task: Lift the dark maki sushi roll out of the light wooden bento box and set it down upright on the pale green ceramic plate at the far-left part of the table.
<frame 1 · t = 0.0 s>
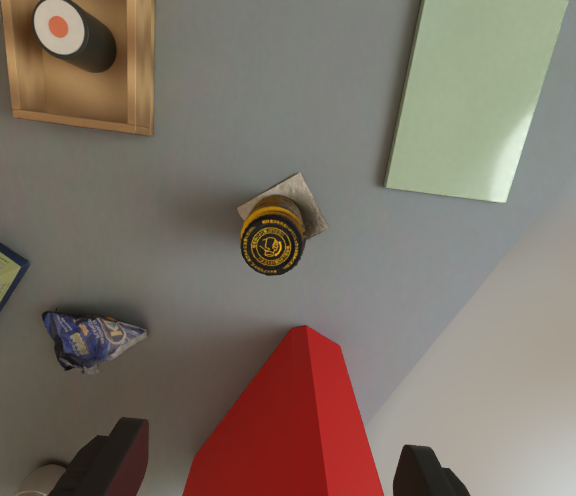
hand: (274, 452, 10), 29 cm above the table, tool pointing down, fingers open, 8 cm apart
snack package: (99, 331, 42), on the table
plastic bottle: (57, 473, 48), on the table
book: (266, 405, 45), on the table
sushi plate: (465, 101, 34), on the table
bento box: (97, 49, 33), on the table
sushi roll: (92, 46, 32), point 1 cm above the table, touching bento box
condiment: (283, 217, 38), on the table
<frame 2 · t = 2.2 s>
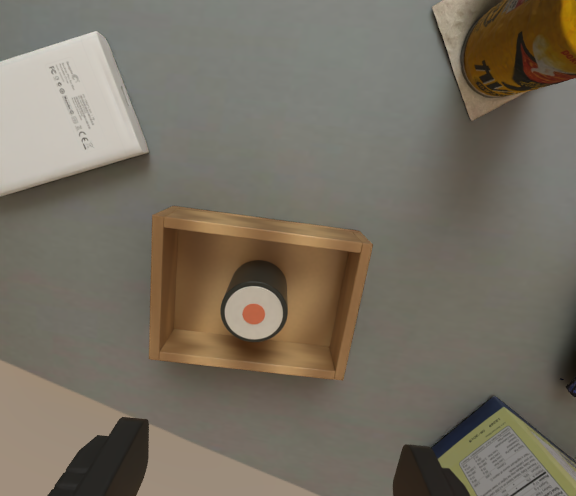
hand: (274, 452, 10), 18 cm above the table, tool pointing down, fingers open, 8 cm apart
hard drive: (55, 121, 24), on the table
bento box: (259, 282, 28), on the table
protein box: (501, 460, 34), on the table
sushi roll: (259, 286, 27), point 1 cm above the table, touching bento box
condiment: (496, 42, 23), on the table
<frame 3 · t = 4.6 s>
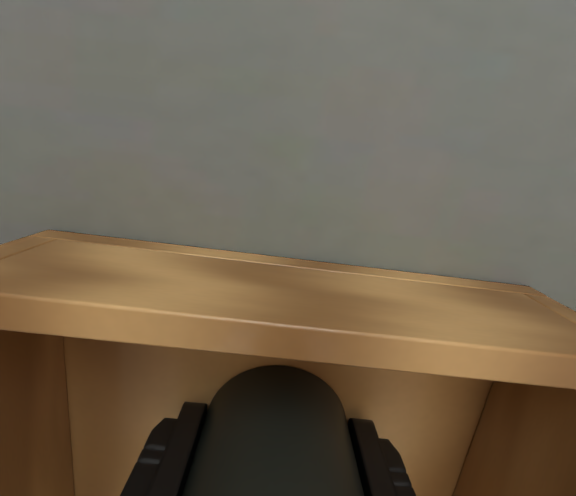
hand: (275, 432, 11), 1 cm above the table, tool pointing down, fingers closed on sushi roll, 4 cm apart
bento box: (275, 406, 12), on the table
sushi roll: (276, 423, 11), point 1 cm above the table, touching bento box, gripper
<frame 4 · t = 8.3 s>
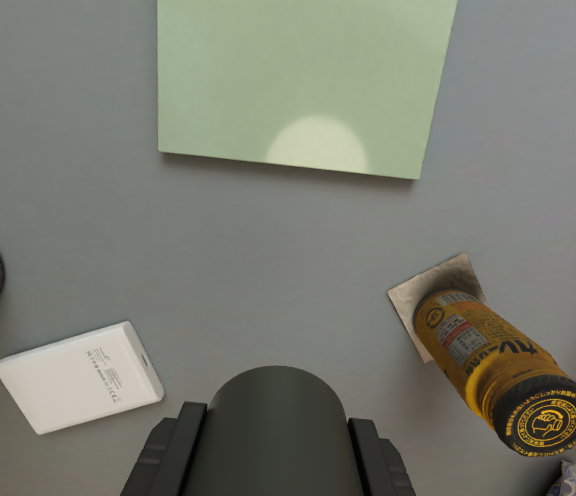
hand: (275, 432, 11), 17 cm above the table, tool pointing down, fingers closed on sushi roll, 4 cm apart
hard drive: (89, 372, 30), on the table
sushi plate: (300, 67, 23), on the table
sushi roll: (276, 424, 11), point 17 cm above the table, touching gripper
condiment: (441, 308, 29), on the table
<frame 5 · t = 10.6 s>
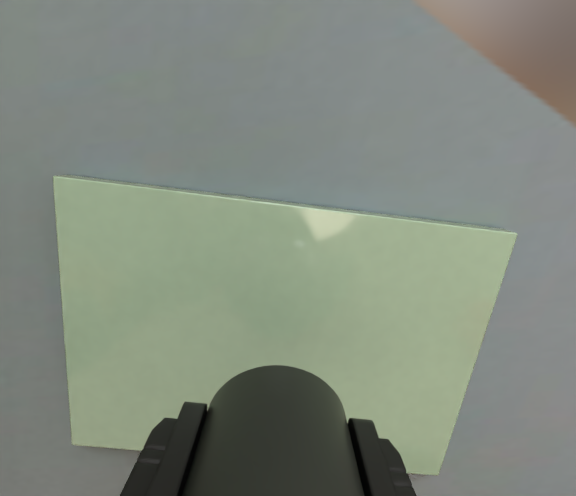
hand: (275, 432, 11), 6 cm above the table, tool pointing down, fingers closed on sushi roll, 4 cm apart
sushi plate: (275, 337, 16), on the table
sushi roll: (276, 423, 11), point 6 cm above the table, touching gripper
when the fingers open (1 cm above the table, at t = 12.2 s): sushi roll stays where it is, resting on sushi plate.
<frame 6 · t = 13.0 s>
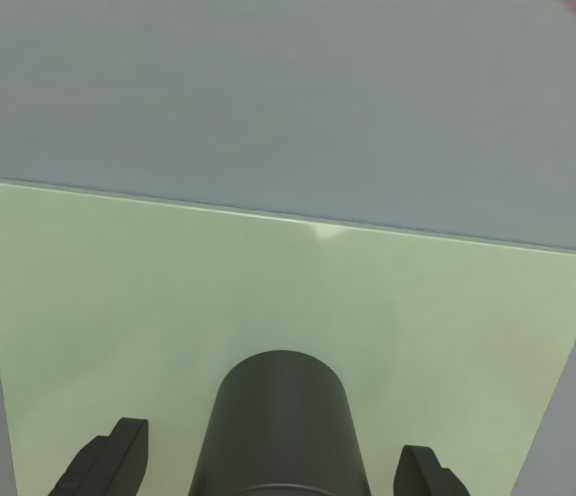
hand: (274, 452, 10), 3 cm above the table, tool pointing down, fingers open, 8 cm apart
sushi plate: (278, 387, 13), on the table
sushi roll: (281, 405, 12), point 1 cm above the table, touching sushi plate
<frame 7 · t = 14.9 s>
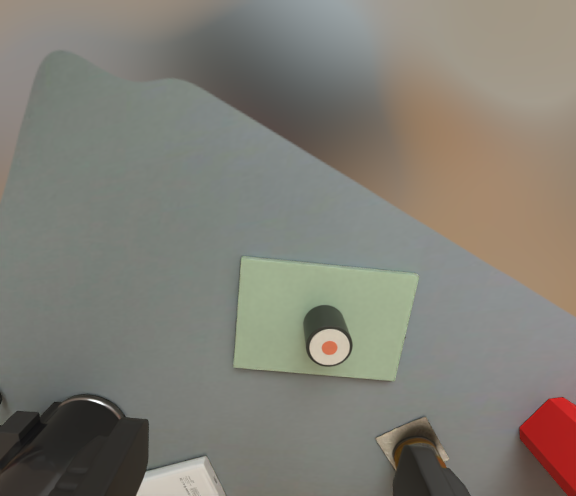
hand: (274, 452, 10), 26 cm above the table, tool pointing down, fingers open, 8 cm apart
hard drive: (176, 485, 45), on the table
sushi plate: (321, 319, 38), on the table
sushi roll: (323, 323, 37), point 1 cm above the table, touching sushi plate
condiment: (411, 446, 44), on the table
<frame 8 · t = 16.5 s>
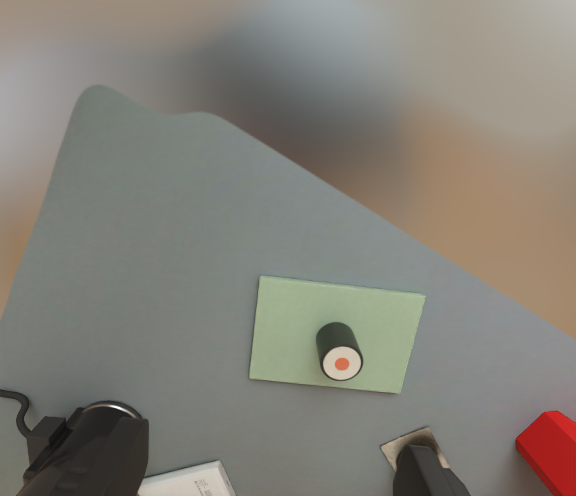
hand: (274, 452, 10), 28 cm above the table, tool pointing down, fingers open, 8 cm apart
hard drive: (189, 487, 48), on the table
sushi plate: (332, 335, 41), on the table
sushi roll: (335, 339, 40), point 1 cm above the table, touching sushi plate
condiment: (414, 454, 46), on the table
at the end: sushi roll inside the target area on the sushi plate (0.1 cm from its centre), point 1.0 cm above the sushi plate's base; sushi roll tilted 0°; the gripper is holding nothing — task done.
